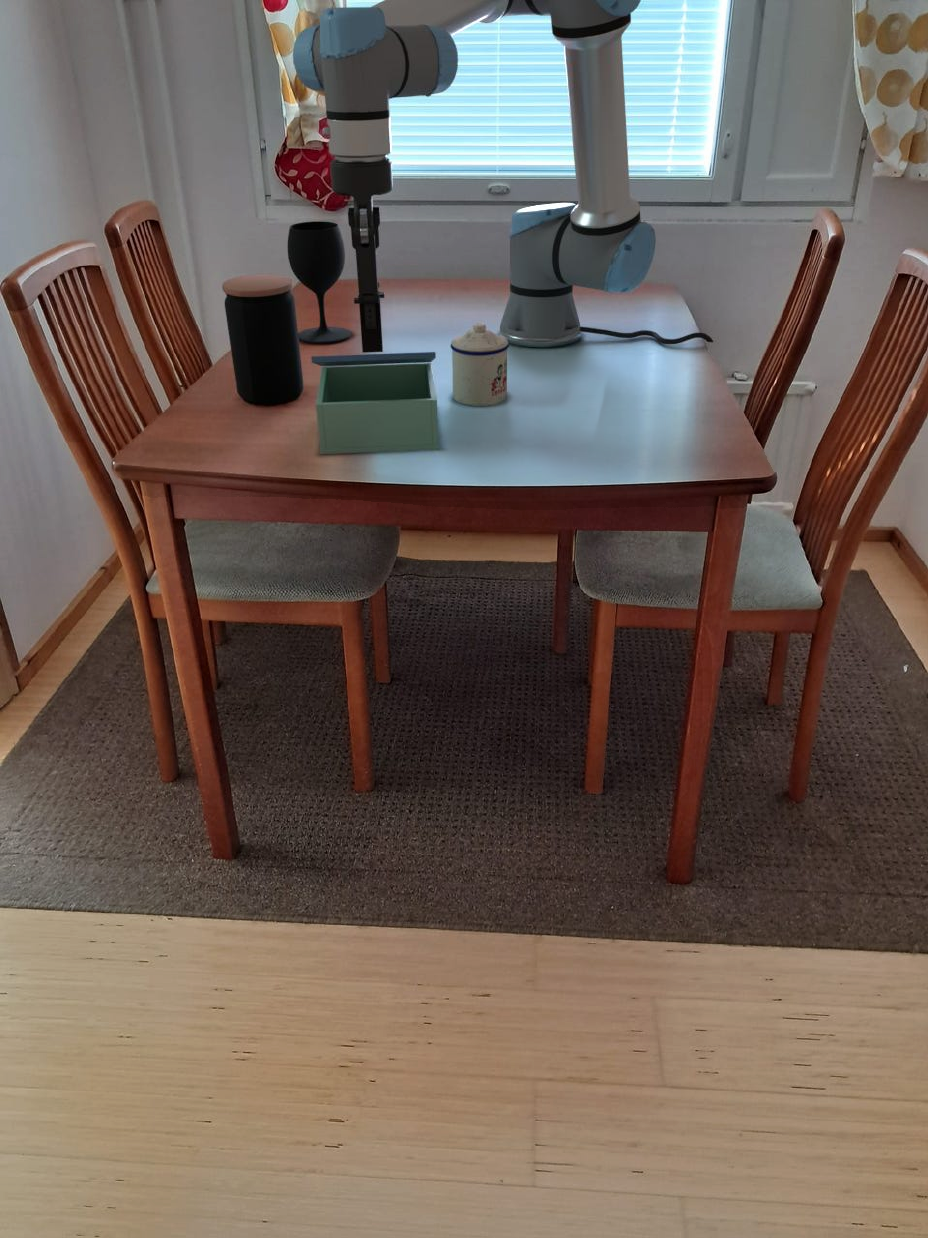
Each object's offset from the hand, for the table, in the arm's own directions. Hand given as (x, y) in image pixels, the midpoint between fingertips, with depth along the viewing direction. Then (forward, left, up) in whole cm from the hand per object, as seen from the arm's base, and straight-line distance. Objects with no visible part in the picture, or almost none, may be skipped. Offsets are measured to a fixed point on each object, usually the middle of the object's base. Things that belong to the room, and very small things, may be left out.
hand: (372, 350), depth 129 cm
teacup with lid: (-17, -21, -14) cm, 30 cm away
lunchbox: (0, -7, -14) cm, 16 cm away
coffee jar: (+17, -24, -14) cm, 33 cm away
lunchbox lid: (0, -7, -4) cm, 8 cm away
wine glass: (+10, -57, -14) cm, 60 cm away
